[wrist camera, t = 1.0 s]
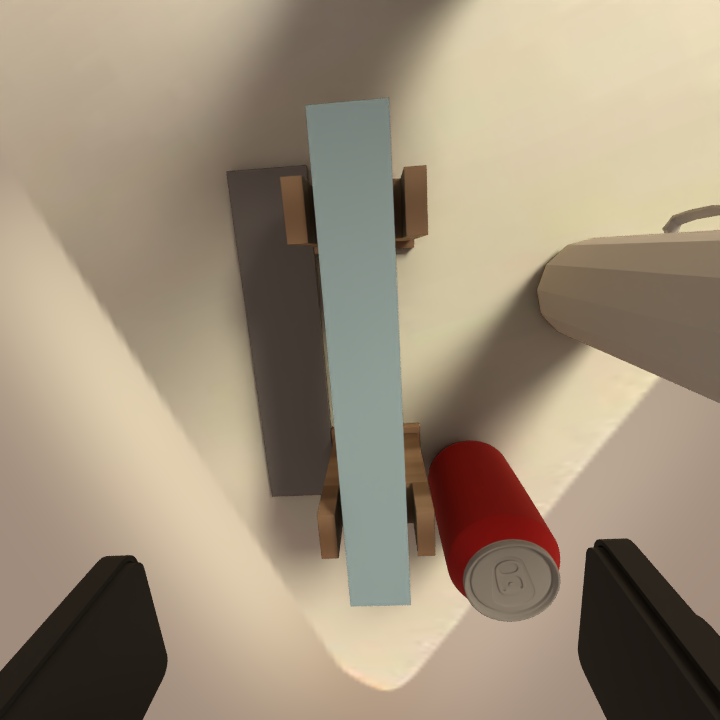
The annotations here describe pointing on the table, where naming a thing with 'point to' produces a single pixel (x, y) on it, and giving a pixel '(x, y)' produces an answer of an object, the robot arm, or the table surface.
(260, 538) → the table surface
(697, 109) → the table surface
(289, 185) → the post
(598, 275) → the water bottle
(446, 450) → the beverage can
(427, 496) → the post
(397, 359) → the rail
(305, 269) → the mat
